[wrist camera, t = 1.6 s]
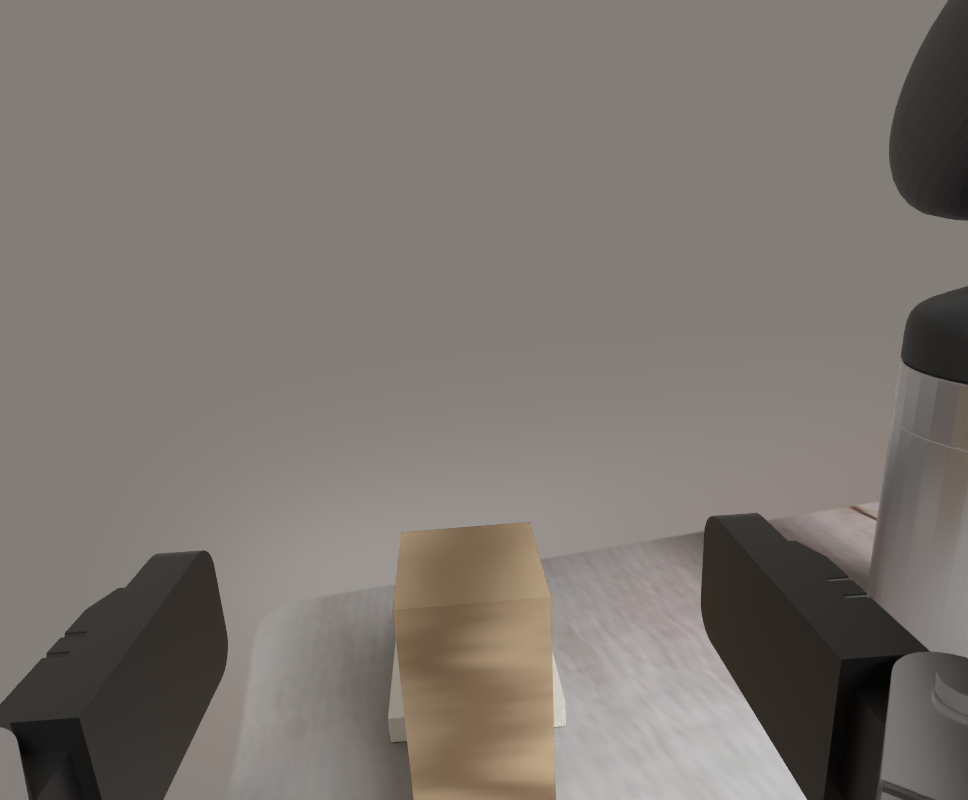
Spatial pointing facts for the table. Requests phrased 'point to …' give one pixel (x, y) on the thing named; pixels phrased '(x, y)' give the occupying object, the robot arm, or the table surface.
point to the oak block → (476, 663)
